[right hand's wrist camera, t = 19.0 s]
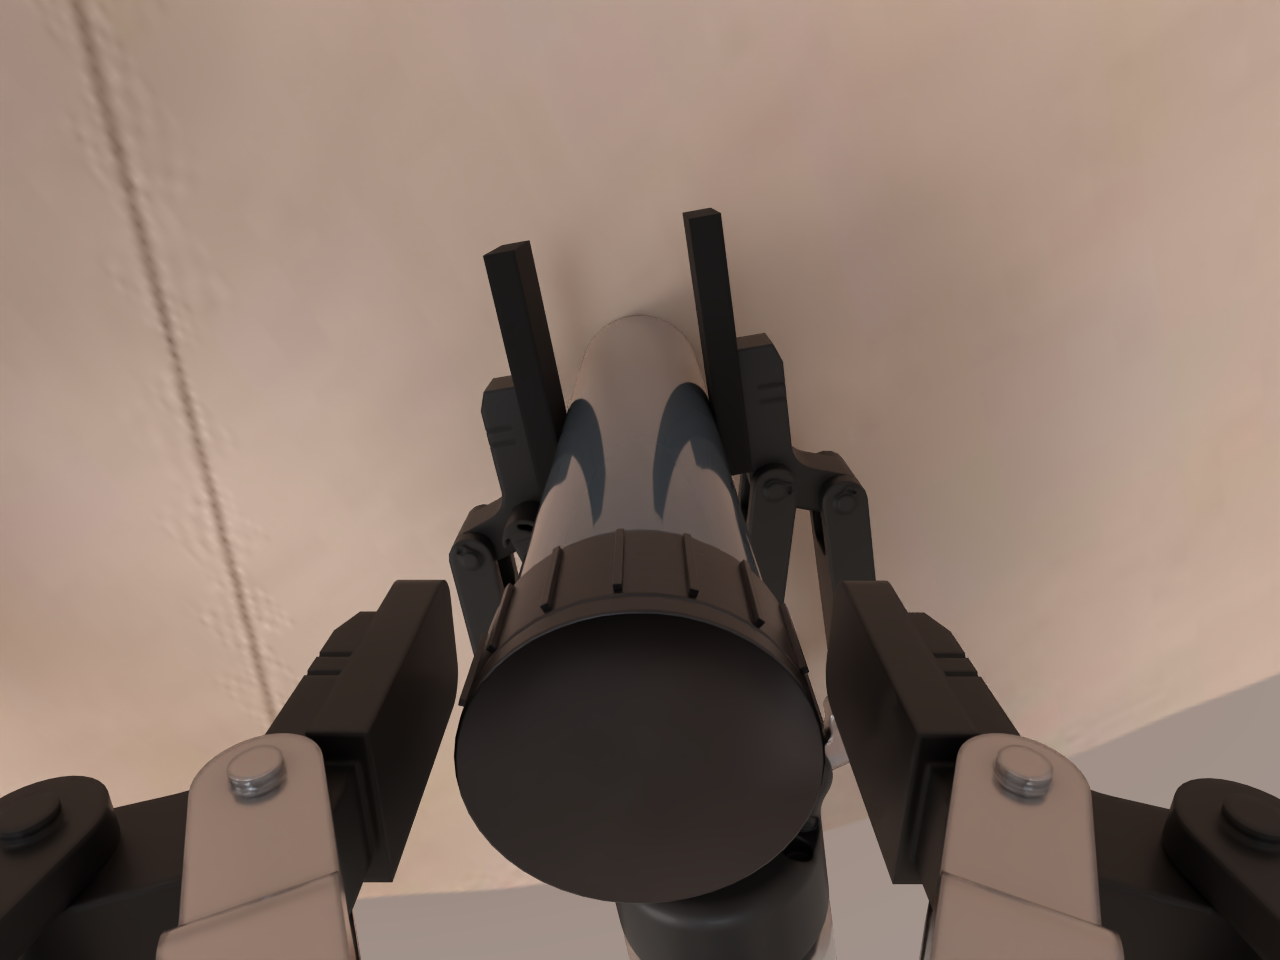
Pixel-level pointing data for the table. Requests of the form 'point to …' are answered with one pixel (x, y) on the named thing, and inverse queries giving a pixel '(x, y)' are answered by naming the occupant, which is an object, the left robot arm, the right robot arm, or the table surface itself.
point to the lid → (639, 721)
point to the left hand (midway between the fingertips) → (603, 232)
